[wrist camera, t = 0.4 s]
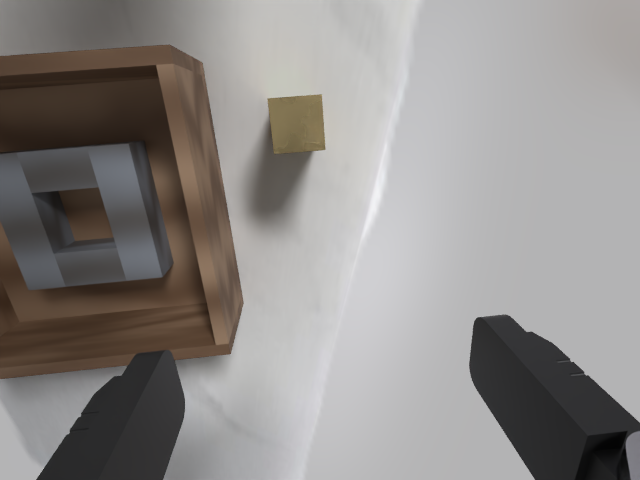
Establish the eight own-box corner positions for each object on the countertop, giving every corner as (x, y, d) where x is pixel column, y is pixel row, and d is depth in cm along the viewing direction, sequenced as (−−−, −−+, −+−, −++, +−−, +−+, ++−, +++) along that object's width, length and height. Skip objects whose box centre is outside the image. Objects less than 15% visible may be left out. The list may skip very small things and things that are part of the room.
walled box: (-87, 83, 27) (-233, 72, 19) (202, 62, 28) (169, 44, 20) (20, 325, 35) (-56, 385, 27) (243, 302, 36) (230, 353, 28)
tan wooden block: (273, 102, 29) (267, 98, 22) (314, 98, 29) (321, 94, 22) (278, 143, 30) (273, 154, 23) (317, 140, 31) (325, 149, 23)
